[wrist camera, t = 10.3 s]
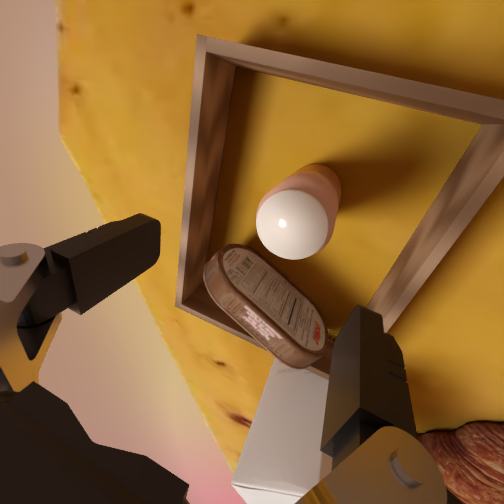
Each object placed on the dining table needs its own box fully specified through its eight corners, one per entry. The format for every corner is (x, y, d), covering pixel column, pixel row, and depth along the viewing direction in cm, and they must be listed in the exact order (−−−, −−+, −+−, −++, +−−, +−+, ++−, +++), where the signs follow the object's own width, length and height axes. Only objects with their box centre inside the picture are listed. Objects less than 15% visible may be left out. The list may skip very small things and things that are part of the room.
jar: (296, 157, 22) (262, 174, 14) (350, 173, 21) (347, 202, 13) (281, 207, 25) (244, 247, 17) (329, 224, 24) (315, 275, 16)
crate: (229, 53, 21) (196, 34, 17) (503, 114, 17) (553, 110, 12) (197, 284, 34) (175, 306, 30) (346, 351, 30) (344, 388, 26)
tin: (225, 246, 30) (184, 283, 23) (239, 228, 28) (199, 262, 21) (317, 329, 30) (305, 390, 23) (336, 317, 28) (330, 379, 21)
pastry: (544, 513, 30) (598, 625, 23) (401, 487, 37) (410, 566, 31) (524, 416, 25) (583, 519, 19) (366, 409, 33) (369, 481, 26)
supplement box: (273, 354, 35) (225, 483, 22) (334, 344, 30) (319, 500, 17) (302, 400, 36) (274, 542, 24) (364, 398, 32) (369, 572, 19)
